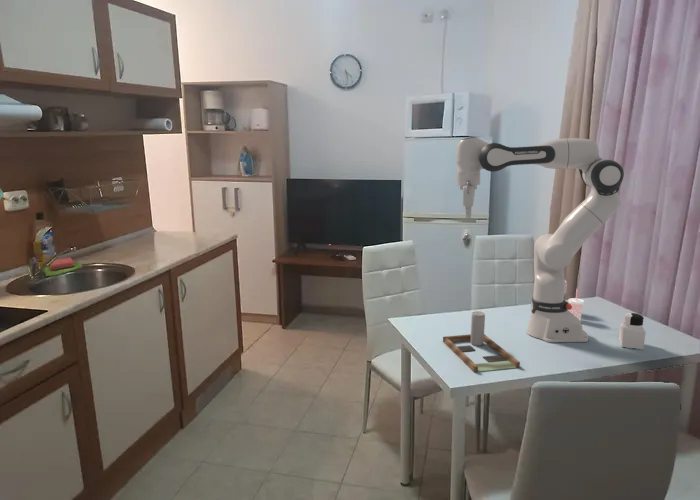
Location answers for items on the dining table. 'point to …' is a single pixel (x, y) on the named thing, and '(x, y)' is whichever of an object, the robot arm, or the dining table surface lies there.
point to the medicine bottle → (632, 331)
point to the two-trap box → (494, 361)
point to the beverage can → (477, 328)
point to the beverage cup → (576, 306)
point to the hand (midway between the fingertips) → (468, 216)
